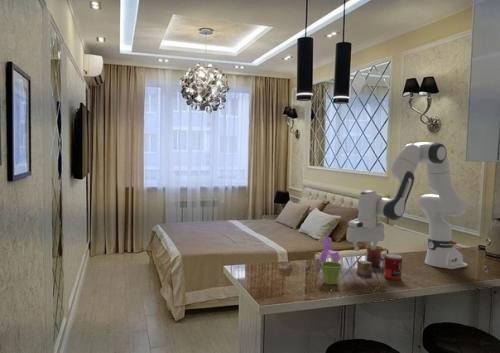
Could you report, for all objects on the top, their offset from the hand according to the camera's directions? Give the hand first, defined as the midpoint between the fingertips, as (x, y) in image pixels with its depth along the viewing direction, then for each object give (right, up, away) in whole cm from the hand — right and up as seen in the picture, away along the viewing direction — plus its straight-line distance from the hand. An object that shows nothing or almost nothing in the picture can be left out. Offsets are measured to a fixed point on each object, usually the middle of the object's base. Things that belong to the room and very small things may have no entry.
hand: (364, 250), depth 195 cm
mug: (+11, -12, +16) cm, 23 cm away
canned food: (+12, -13, -5) cm, 18 cm away
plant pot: (-20, -13, -15) cm, 28 cm away
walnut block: (0, -12, +1) cm, 12 cm away
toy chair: (-15, -11, +15) cm, 24 cm away
